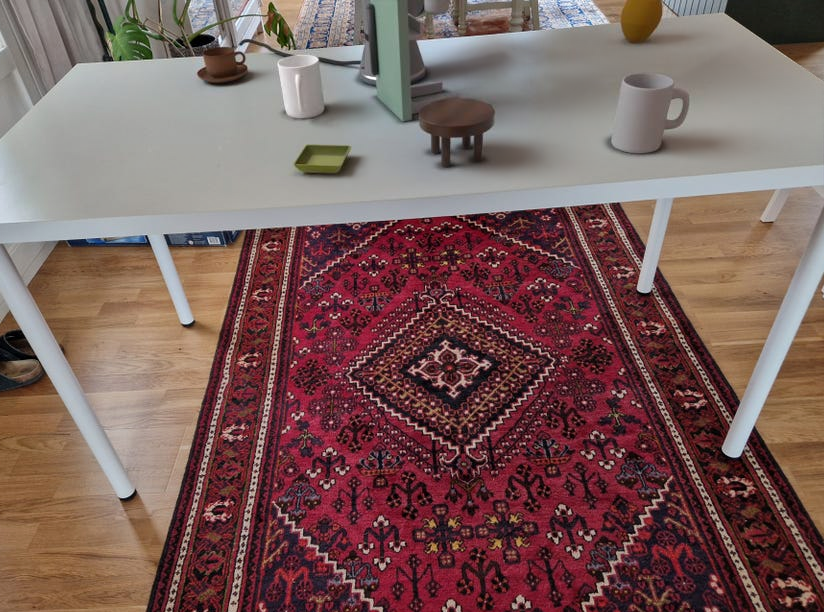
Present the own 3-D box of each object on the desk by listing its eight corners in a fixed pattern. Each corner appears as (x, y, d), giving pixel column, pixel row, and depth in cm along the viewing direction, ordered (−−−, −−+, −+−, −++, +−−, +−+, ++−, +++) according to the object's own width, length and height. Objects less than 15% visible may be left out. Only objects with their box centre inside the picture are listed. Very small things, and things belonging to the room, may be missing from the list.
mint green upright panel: (436, 86, 143) (434, -27, 129) (466, 109, 132) (468, -12, 117) (370, 98, 140) (361, -17, 125) (395, 123, 128) (389, 0, 114)
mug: (616, 154, 112) (627, 90, 105) (606, 135, 119) (617, 73, 111) (686, 152, 111) (703, 87, 104) (673, 133, 118) (687, 70, 111)
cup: (325, 103, 139) (318, 53, 132) (324, 124, 130) (317, 71, 123) (287, 106, 138) (278, 56, 132) (283, 127, 129) (274, 75, 123)
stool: (407, 164, 114) (405, 119, 108) (440, 137, 122) (440, 94, 117) (474, 177, 108) (475, 130, 103) (503, 148, 117) (506, 103, 111)
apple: (646, 49, 155) (656, -6, 148) (609, 43, 160) (617, -10, 153) (663, 39, 161) (674, -14, 153) (627, 33, 166) (635, -18, 158)
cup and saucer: (229, 67, 161) (223, 41, 157) (259, 75, 155) (254, 48, 151) (189, 81, 155) (182, 54, 151) (219, 90, 149) (212, 62, 144)
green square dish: (353, 156, 117) (352, 145, 116) (342, 177, 111) (340, 165, 110) (307, 155, 119) (305, 144, 117) (294, 175, 112) (292, 164, 111)
